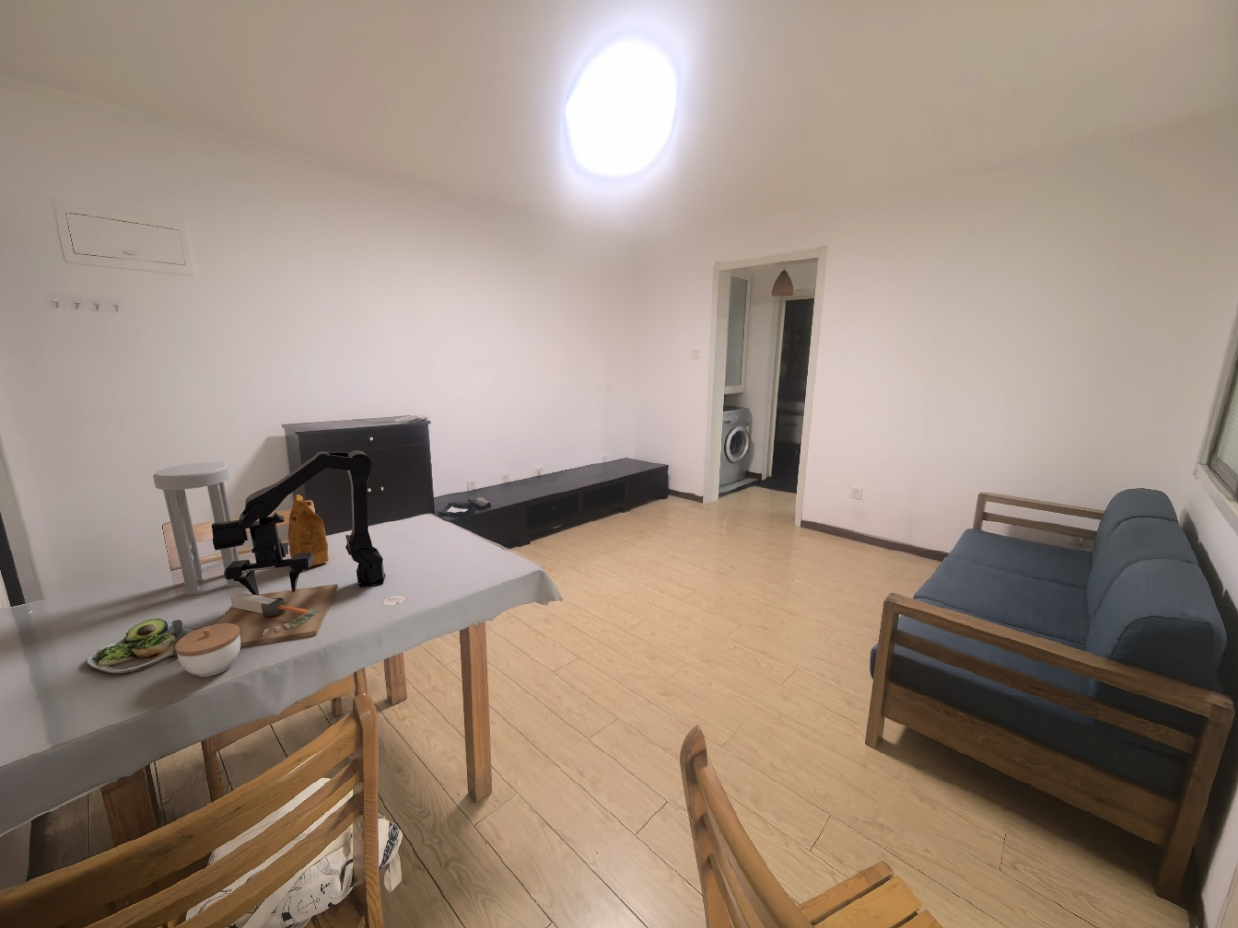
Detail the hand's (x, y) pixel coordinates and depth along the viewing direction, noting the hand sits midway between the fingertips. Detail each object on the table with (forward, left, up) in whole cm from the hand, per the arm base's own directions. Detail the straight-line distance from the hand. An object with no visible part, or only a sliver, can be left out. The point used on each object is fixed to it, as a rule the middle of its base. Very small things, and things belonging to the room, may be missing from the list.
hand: (276, 594), depth 130 cm
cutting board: (-1, +7, -3) cm, 8 cm away
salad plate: (+23, +13, -4) cm, 26 cm away
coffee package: (-1, -28, -4) cm, 28 cm away
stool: (+22, -21, -4) cm, 30 cm away
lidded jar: (+5, +26, -4) cm, 27 cm away
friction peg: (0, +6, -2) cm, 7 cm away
